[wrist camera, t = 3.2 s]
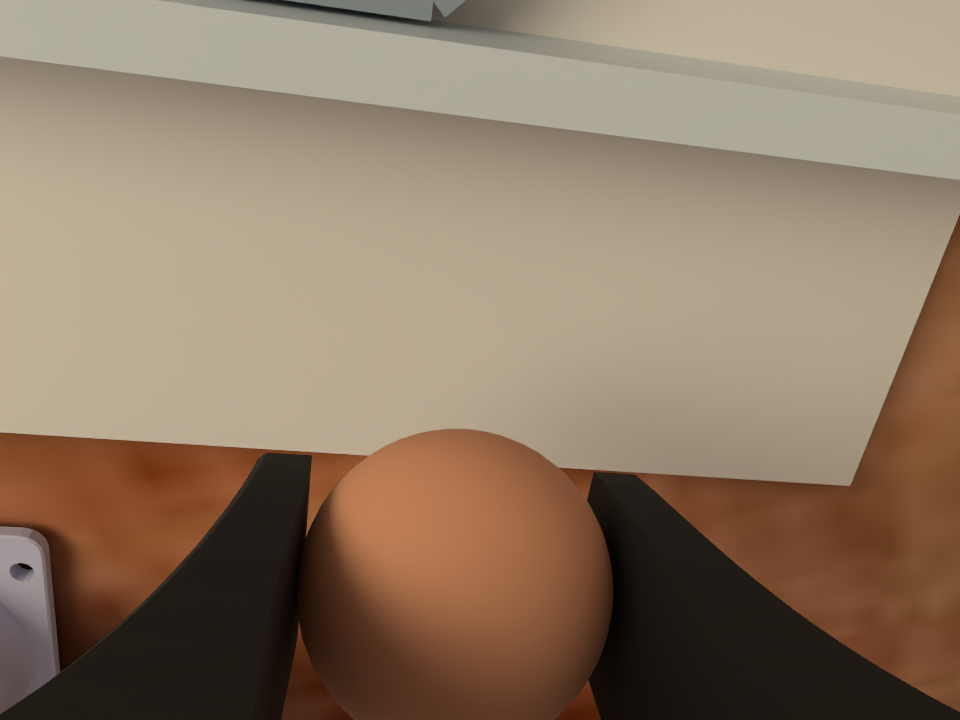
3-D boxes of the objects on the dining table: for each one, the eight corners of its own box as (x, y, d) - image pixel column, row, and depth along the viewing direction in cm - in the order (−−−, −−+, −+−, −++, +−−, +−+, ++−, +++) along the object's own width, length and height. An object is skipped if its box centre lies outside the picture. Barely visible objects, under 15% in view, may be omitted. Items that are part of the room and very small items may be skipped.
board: (830, 462, 22) (849, 486, 21) (-192, 393, 18) (-221, 418, 17) (1196, -487, 14) (1253, -514, 13) (-494, -964, 10) (-578, -1049, 9)
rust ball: (551, 603, 14) (609, 832, 10) (300, 591, 13) (272, 832, 10) (602, 387, 12) (692, 573, 9) (318, 362, 12) (290, 553, 8)
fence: (983, 154, 17) (1095, 197, 14) (-329, -23, 13) (-502, -9, 11) (1004, 103, 17) (1123, 138, 14) (-346, -95, 13) (-530, -99, 10)
